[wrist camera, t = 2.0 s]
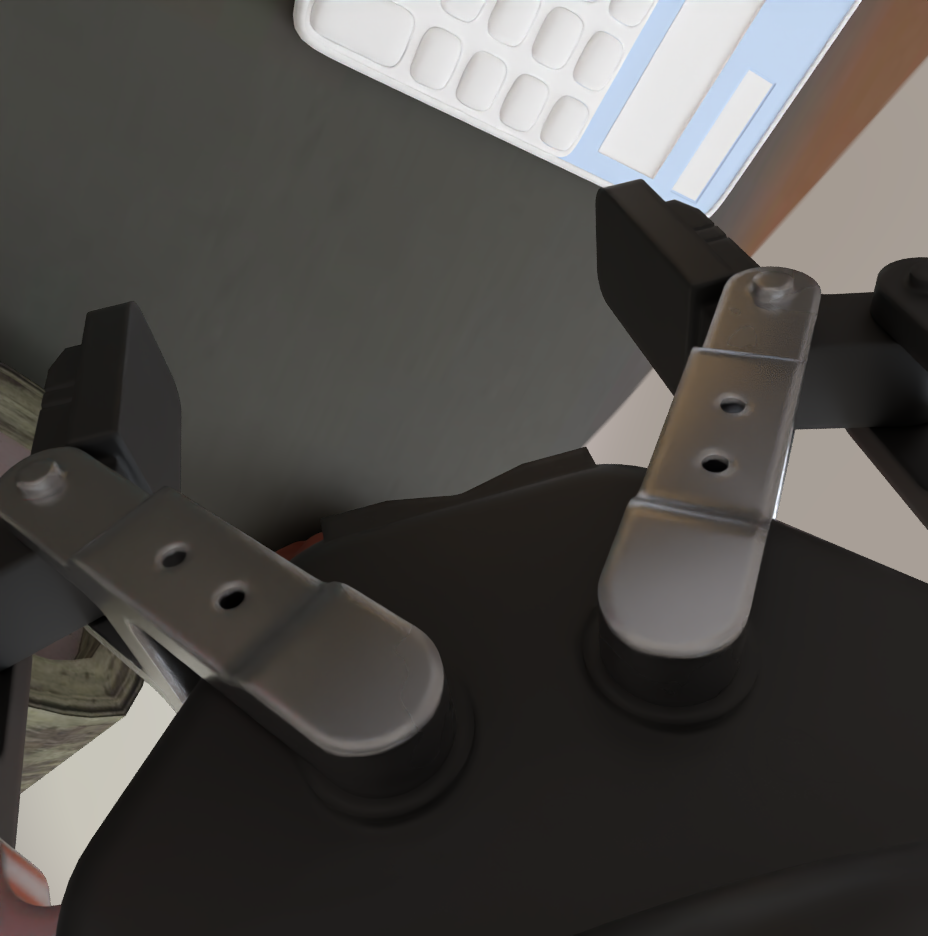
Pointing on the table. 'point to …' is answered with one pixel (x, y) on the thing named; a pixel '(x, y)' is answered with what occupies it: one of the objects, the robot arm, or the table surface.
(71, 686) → the tabletop clock
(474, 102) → the calculator
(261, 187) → the table surface
